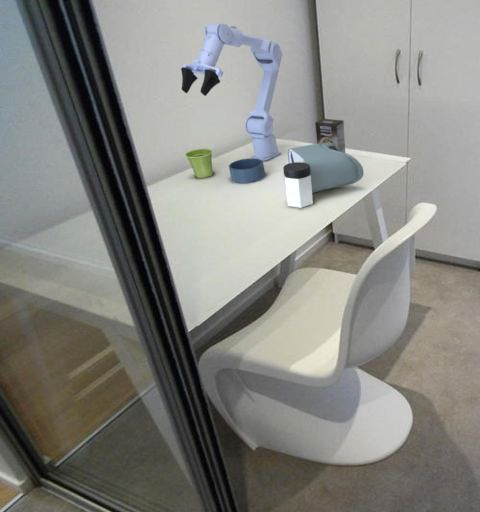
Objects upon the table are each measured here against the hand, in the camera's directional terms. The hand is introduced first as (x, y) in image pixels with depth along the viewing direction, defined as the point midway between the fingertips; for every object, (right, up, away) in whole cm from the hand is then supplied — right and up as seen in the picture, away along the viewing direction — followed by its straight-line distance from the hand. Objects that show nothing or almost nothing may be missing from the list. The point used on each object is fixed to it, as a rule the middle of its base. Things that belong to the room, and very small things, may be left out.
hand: (193, 92), depth 141 cm
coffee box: (+42, -16, +30) cm, 54 cm away
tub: (+12, -24, +19) cm, 33 cm away
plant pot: (-5, -23, +22) cm, 32 cm away
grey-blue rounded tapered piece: (+42, -28, +12) cm, 52 cm away
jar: (+35, -36, -2) cm, 50 cm away
